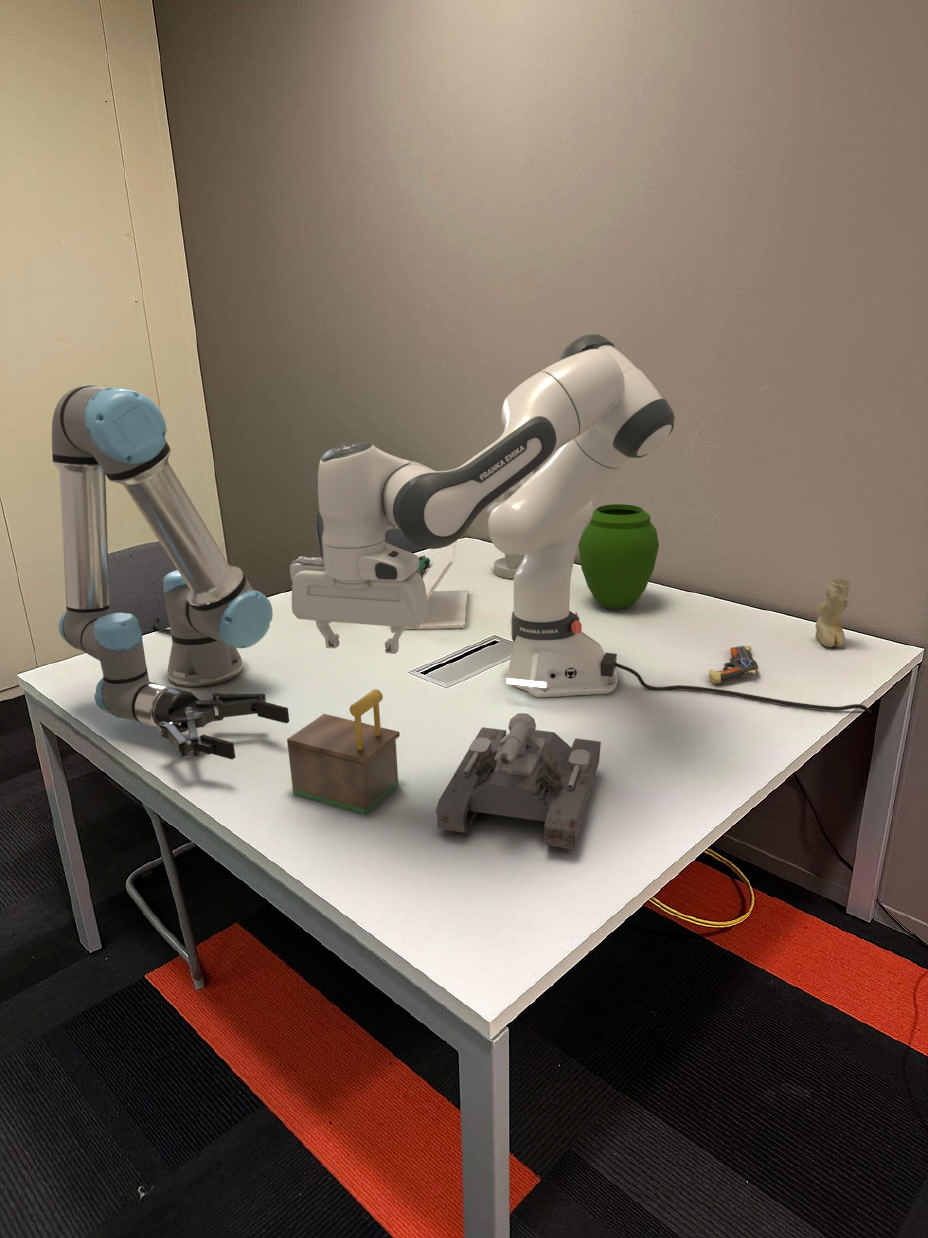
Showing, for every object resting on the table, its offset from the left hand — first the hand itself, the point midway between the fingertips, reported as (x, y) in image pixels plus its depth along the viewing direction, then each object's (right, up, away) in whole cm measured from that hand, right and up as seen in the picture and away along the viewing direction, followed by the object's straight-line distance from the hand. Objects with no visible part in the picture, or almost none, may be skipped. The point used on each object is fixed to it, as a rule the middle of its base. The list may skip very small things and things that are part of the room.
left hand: (261, 732), depth 142 cm
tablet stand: (+25, +21, +72) cm, 79 cm away
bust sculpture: (+51, +31, +97) cm, 114 cm away
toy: (+43, -9, -10) cm, 45 cm away
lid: (+15, 0, -8) cm, 17 cm away
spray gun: (+18, +33, +105) cm, 111 cm away
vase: (+72, +22, +72) cm, 104 cm away
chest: (+15, -8, -5) cm, 18 cm away
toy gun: (+89, +9, +35) cm, 96 cm away
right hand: (+19, +14, -16) cm, 29 cm away
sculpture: (+114, +13, +45) cm, 123 cm away
